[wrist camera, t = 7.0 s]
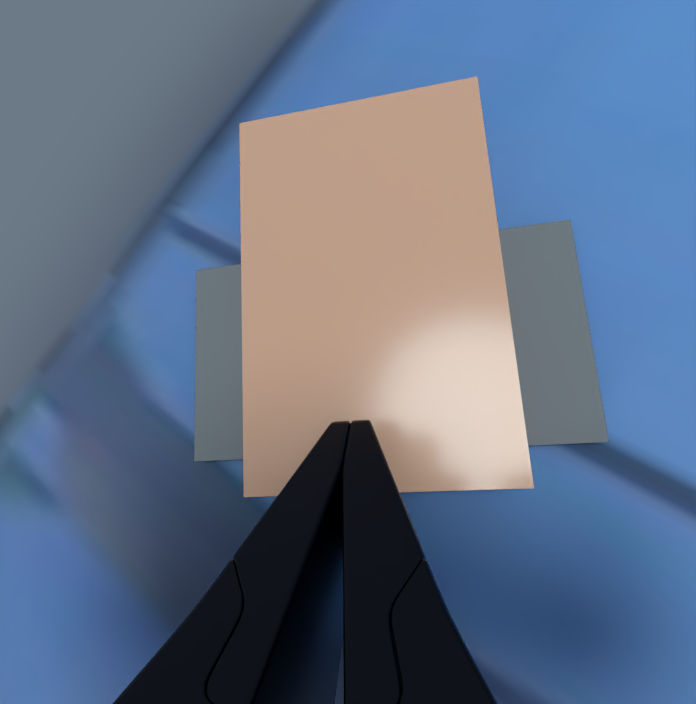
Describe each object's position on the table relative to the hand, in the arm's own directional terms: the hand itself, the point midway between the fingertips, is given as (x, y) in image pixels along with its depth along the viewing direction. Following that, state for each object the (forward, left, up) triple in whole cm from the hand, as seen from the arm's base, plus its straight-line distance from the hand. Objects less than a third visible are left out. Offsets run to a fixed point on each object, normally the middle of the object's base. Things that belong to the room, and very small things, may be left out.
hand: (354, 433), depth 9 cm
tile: (-2, +1, -5) cm, 6 cm away
